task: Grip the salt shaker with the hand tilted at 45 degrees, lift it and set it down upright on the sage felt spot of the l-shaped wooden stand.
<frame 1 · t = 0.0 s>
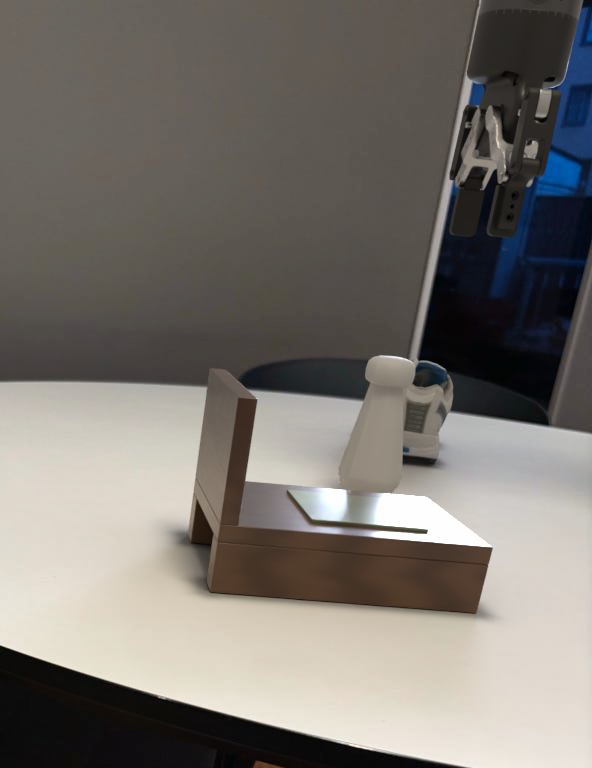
hand: (479, 236, 85), 24 cm above the table, tool pointing down, fingers open, 8 cm apart
l-shaped wooden stand: (321, 571, 73), on the table
salt shaker: (364, 500, 96), on the table
athletic shoe: (403, 448, 123), on the table
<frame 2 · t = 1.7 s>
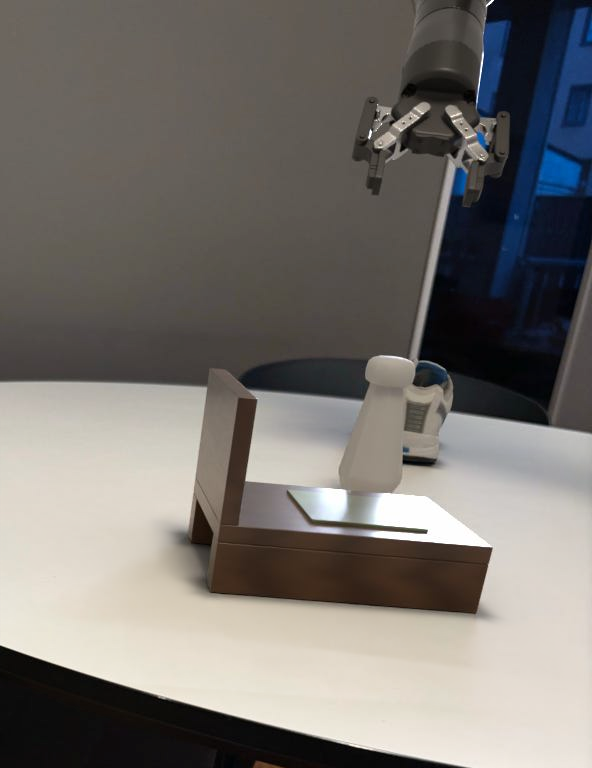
hand: (422, 194, 95), 27 cm above the table, tool tilted 45°, fingers open, 8 cm apart
nothing on the table moved.
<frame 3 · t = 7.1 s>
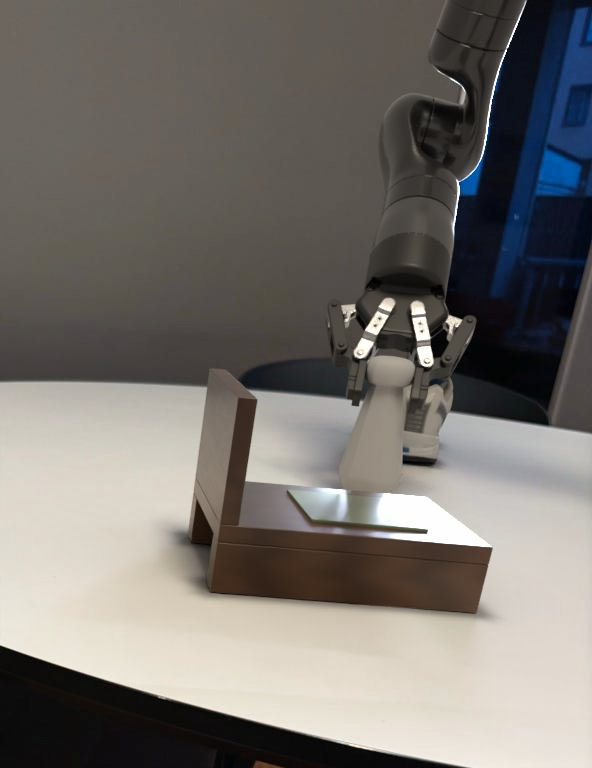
hand: (384, 404, 90), 9 cm above the table, tool tilted 45°, fingers closed on salt shaker, 4 cm apart
salt shaker: (365, 500, 96), on the table, touching gripper
everything else where it was.
when the fingers open (14 cm above the table, at t = 15.5 s): salt shaker stays where it is, resting on l-shaped wooden stand.
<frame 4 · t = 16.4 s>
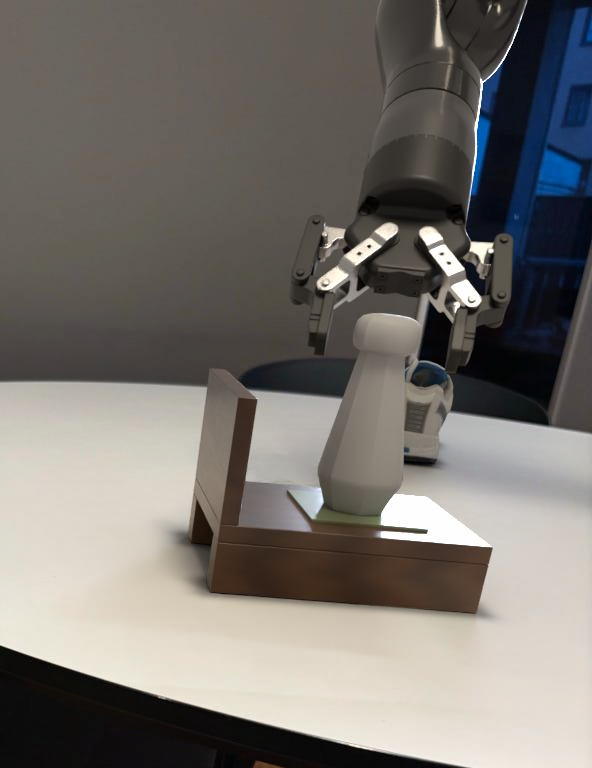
hand: (385, 356, 66), 15 cm above the table, tool tilted 45°, fingers open, 8 cm apart
salt shaker: (353, 510, 71), point 5 cm above the table, touching l-shaped wooden stand
everything else where it was.
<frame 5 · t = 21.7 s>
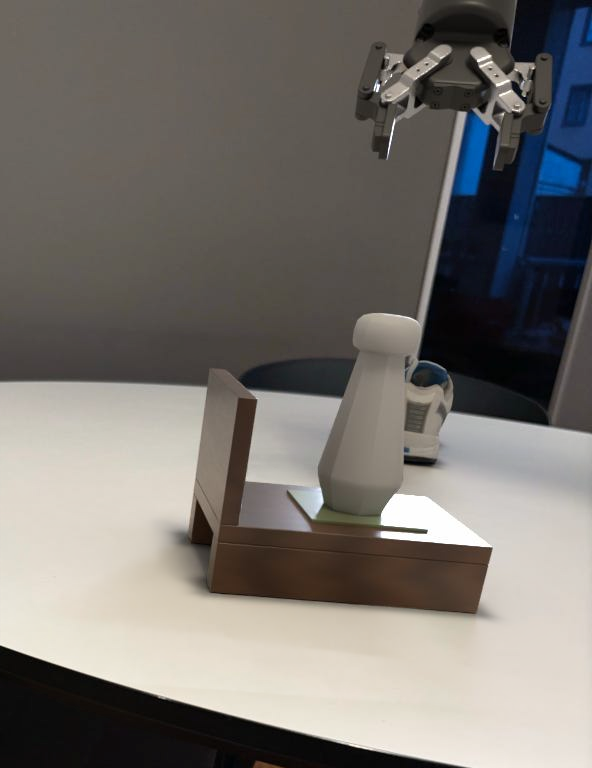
hand: (441, 155, 76), 29 cm above the table, tool tilted 45°, fingers open, 8 cm apart
nothing on the table moved.
at the end: salt shaker inside the target area on the l-shaped wooden stand (0.3 cm from its centre), point 4.6 cm above the l-shaped wooden stand's base; salt shaker tilted 0°; the gripper is holding nothing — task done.
